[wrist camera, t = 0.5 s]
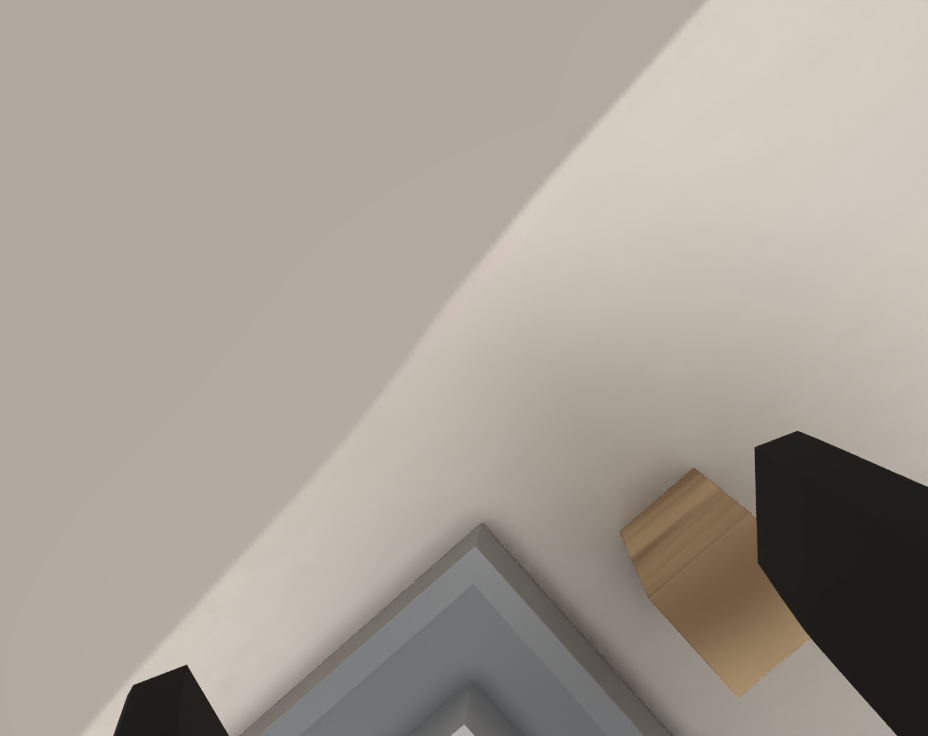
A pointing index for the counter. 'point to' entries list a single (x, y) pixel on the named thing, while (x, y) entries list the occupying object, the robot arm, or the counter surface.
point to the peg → (712, 580)
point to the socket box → (464, 664)
